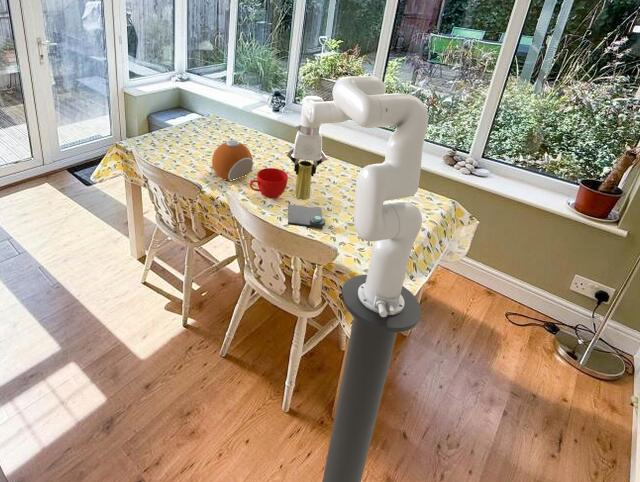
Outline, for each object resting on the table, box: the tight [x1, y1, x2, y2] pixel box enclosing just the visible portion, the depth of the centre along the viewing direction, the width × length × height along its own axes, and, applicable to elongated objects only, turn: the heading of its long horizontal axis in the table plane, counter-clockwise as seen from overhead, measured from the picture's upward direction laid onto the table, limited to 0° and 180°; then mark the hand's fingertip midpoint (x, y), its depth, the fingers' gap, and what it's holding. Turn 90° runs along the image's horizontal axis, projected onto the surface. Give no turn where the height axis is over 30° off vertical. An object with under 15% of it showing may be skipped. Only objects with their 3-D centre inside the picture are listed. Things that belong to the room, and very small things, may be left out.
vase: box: [293, 160, 313, 201], centre depth 159 cm, size 6×6×14 cm
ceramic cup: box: [249, 167, 289, 199], centre depth 176 cm, size 13×17×10 cm
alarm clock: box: [211, 139, 254, 181], centre depth 192 cm, size 19×18×17 cm
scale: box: [287, 204, 326, 230], centre depth 161 cm, size 15×14×2 cm
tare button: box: [314, 216, 323, 222], centre depth 156 cm, size 3×3×1 cm
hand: (304, 173), depth 158 cm, fingers closed on vase, 5 cm apart
